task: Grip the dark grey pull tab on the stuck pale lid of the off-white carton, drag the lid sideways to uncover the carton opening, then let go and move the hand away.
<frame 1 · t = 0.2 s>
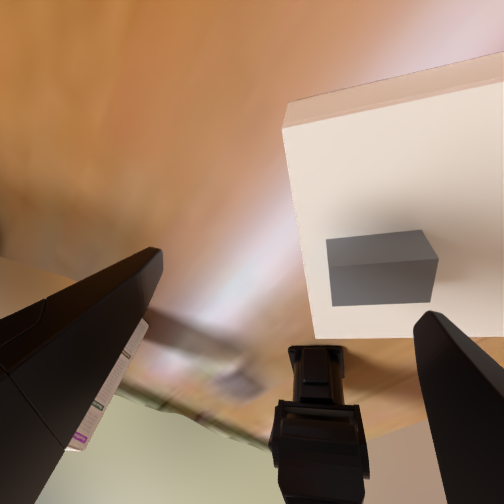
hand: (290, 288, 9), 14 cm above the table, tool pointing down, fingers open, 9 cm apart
carton lid: (476, 256, 14), point 8 cm above the table, slide at 0.0 cm
carton: (426, 192, 20), on the table
syrup box: (122, 314, 36), on the table
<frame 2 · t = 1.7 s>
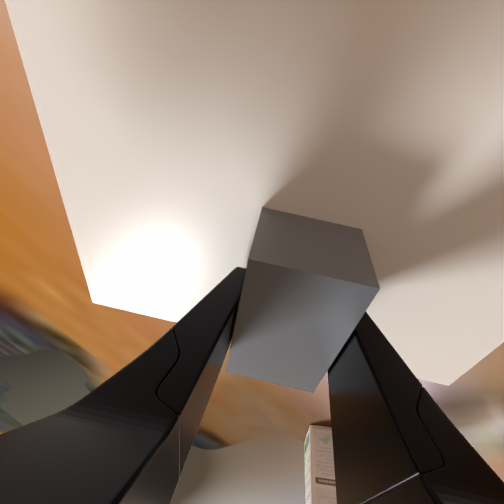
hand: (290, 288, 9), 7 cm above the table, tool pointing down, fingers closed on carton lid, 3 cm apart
carton lid: (346, 138, 6), point 8 cm above the table, slide at 0.0 cm, touching gripper
syrup box: (331, 435, 33), on the table
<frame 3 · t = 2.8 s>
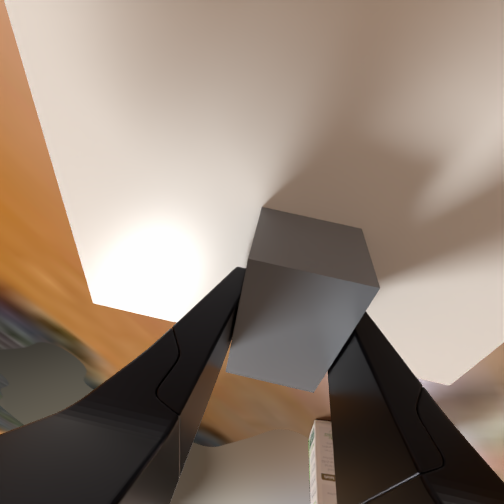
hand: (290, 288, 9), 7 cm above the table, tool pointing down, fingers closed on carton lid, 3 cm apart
carton lid: (346, 138, 6), point 8 cm above the table, slide at 1.5 cm, touching gripper
syrup box: (336, 431, 32), on the table
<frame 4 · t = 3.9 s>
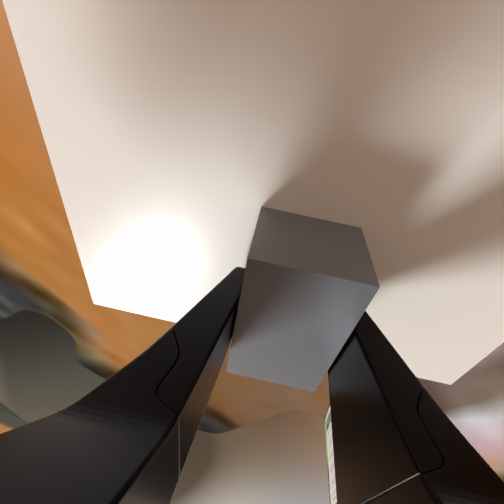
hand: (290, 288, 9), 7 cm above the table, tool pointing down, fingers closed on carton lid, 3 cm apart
carton lid: (344, 136, 6), point 8 cm above the table, slide at 7.0 cm, touching gripper
syrup box: (356, 410, 28), on the table
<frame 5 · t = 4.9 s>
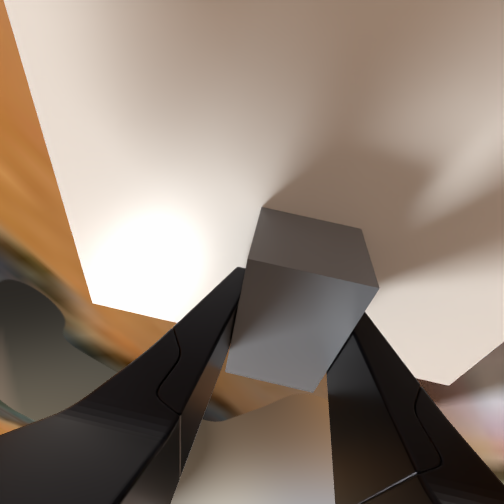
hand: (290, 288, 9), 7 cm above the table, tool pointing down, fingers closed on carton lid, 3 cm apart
carton lid: (345, 138, 6), point 8 cm above the table, slide at 10.9 cm, touching gripper
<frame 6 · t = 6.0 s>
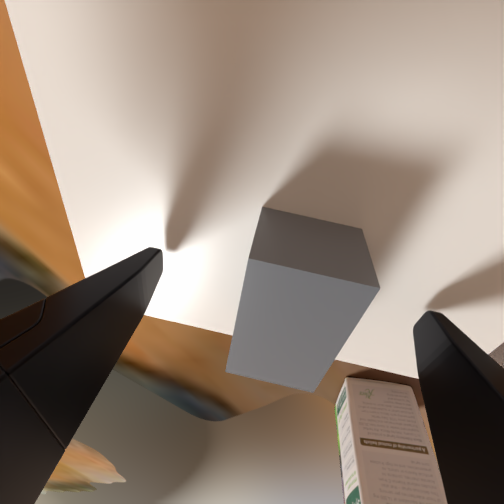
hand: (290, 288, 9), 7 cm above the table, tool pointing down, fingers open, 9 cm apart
carton lid: (347, 137, 6), point 8 cm above the table, slide at 10.9 cm
syrup box: (370, 393, 26), on the table
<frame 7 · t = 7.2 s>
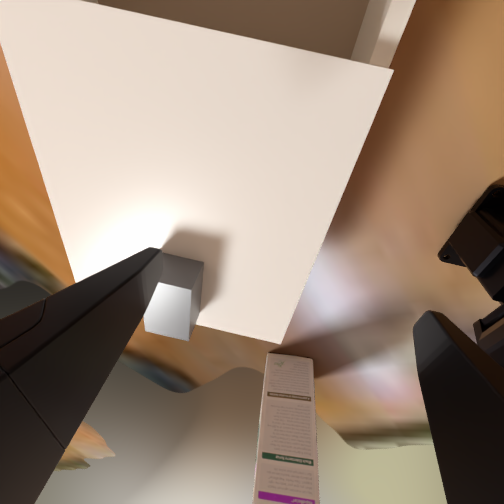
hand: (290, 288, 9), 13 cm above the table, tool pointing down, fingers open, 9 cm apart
carton lid: (176, 231, 15), point 8 cm above the table, slide at 10.9 cm
syrup box: (288, 365, 35), on the table
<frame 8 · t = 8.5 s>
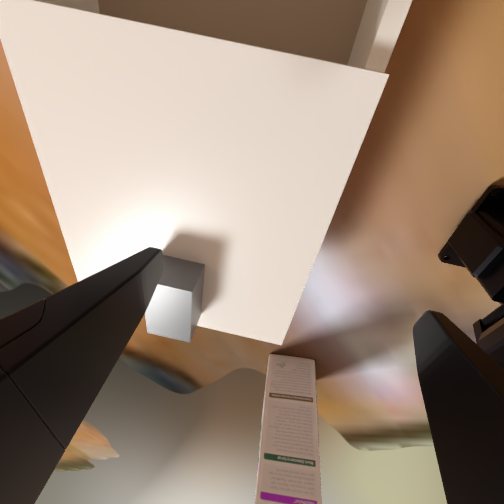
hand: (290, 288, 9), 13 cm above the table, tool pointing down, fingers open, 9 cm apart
carton lid: (176, 234, 15), point 8 cm above the table, slide at 10.9 cm
syrup box: (290, 366, 36), on the table
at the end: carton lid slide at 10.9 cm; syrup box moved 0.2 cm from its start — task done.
